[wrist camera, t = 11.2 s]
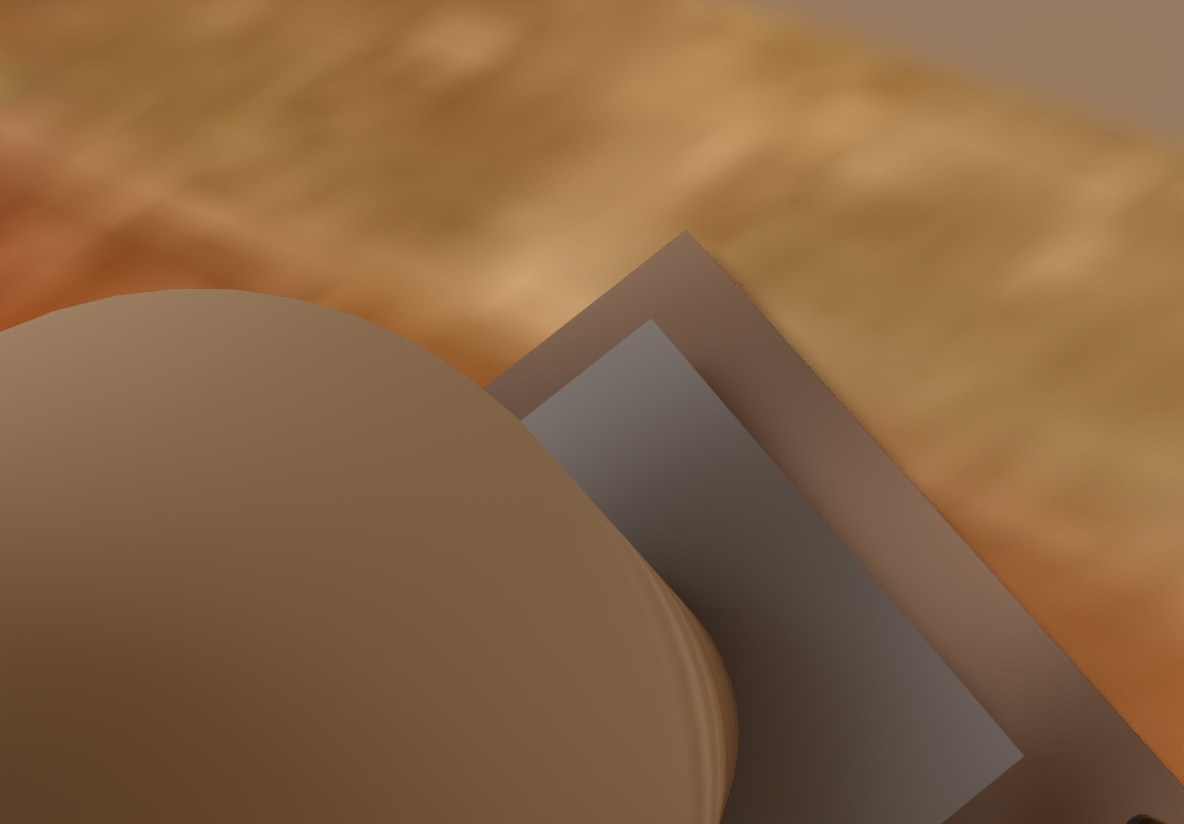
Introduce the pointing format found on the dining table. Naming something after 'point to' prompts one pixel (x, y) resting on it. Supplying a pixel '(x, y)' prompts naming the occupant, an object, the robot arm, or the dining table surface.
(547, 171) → the dining table surface
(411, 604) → the tan and grey post
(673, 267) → the walnut board
